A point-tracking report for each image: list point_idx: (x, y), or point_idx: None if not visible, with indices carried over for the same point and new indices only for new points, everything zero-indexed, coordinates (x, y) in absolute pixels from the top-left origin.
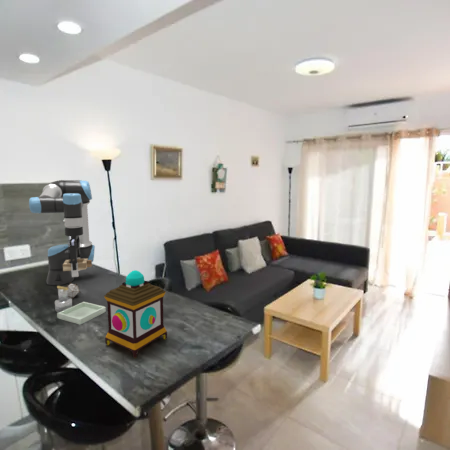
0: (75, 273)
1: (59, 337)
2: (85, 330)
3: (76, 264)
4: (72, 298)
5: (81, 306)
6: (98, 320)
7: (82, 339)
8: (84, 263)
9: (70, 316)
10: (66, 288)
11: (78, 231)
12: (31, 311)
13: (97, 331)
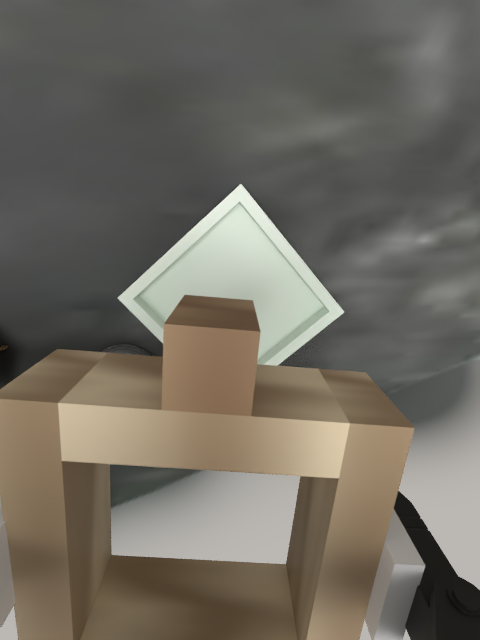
0: None
1: (407, 373)
2: (400, 285)
3: (404, 551)
4: (3, 349)
5: (147, 306)
6: (328, 229)
7: (471, 296)
8: (404, 445)
9: (289, 352)
10: None
11: None
12: (113, 489)
13: (436, 238)
